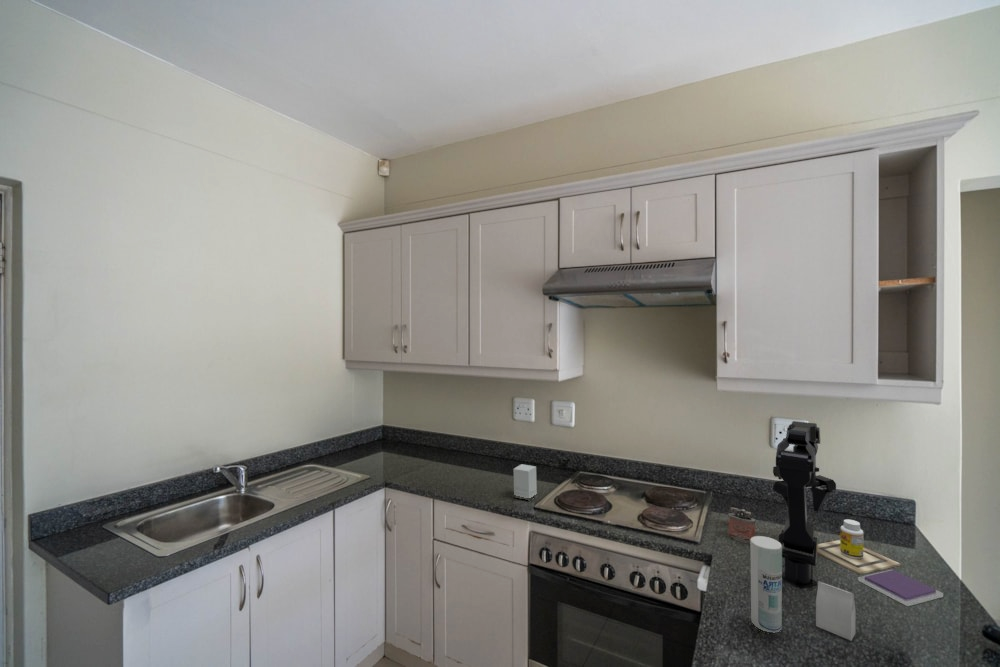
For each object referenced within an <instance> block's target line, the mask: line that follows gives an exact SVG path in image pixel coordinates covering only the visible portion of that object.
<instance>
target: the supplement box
mask: <svg viewBox="0 0 1000 667" xmlns="http://www.w3.org/2000/svg"><path fill="white" fill-rule="evenodd" d="M512 470H513V496H514V495H516V496H520V497H524V498H531V497H533V496H534V495H536V494H538V492H537V490H538V488H537V466H534V465H530V464H529V465H528V464H522V463H521V464H518V466H516V467H514V468H513V469H512Z"/></svg>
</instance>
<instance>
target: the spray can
mask: <svg viewBox="0 0 1000 667" xmlns="http://www.w3.org/2000/svg"><path fill="white" fill-rule="evenodd" d="M778 541H779V540H777V539H774V538H773V537H772V538H771V537H768V536H764V535H755V536H754V537H752V538H751V540H750V543H749V544H750V545H749V546H750V549H749V550H750V551H749V553H750V620H751V624H752V623H753V624H754V625H755V626H756V627H758V628H759V629H761V630H763V631H767V632H773V633H775V632H779V631H780V630H781V631H782V627H783V626H782V623H783V622H782V620H783V619H782V618H783V617H782V614H783V613H782V610H783V605H782V604H783V603H782V602H783V601H782V600H783V593H782V591H783V590H782V589H783V578H782V573H783V557H782V545H781V543H780V542H778ZM753 624H752V625H753ZM756 627H755V628H756ZM781 631H780V632H781Z"/></svg>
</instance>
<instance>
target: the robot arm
mask: <svg viewBox="0 0 1000 667" xmlns="http://www.w3.org/2000/svg"><path fill="white" fill-rule="evenodd" d="M819 444H821V430H820V427H818V425H817V423H815V422H804V421H795V420H793V421H792V422H791V424H789V425H788V427H787V428H786V435H785V438H784V439H782V440H781V441H780V442H779V443H778V444H777V446H776V455H775V466H773V467H772V474H773V477H775V478H778V481H774V482H773V484H772V491H774V492H776V493H777V494H778V495H780V496H782V497H783V499H784V501H785V503H786V506H787V508H788V509H787V510H788V517H787V518H786V520H785V522H784V526H783V529H782V530H781V532H780V533H779V534H778V540H777V541H778V542H780V543H781V545H782V559H784V573H783V572H782V579H784V580H785V581H787V582H789V583H790V584H792V585H794V587H797V588H798V589H803V588H808V587H812V586H818V581H816V580H815V579H813V577H814V567H817V561H818V553H817V544H818V537H816V536H815V527H814V524H813V522H810V521H808V516H807V515H808V513H807V512H808V511H807V490H806V489H809V490H810V491H811V494H812V506H813V511H814V512H819V511H820V509H822V506H823V505H824V503H825V502H826V500H827V499H828V497H829V496H830V495H831V494H833V492H834V491H836V490H837V483H836V481H834V479H833V478H829V477H826V476H823V475H821V474H820V475H816V474H817V472H820V468H819V467H816V466H817V465H816V463H817V462H816V461H817V460H816V459H817V453H818V450H819ZM790 445H792V447H793V448H792V451H791V450H787V449H788V448H789V447H790ZM785 548H786V549H785Z"/></svg>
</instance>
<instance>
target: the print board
mask: <svg viewBox="0 0 1000 667" xmlns="http://www.w3.org/2000/svg"><path fill="white" fill-rule="evenodd" d="M818 554H819V555H820V556H822V557H824V558H826V559H828V560H830V561H832V562H834V563H836V564H838V565H840V566H841V567H844V568H846V569H848V570H850V571H852V572H854V573H855V574H858V575H860V576H861V575H866V574H871V573H874V572H878V571H883V570H887V569H893V568H896V567H900V566H901V563H900V562H898V561H896V560H893V559H891V558H889V557H886V556H884V555H882V554H880V553H877V552H876V551H873V550H872V549H869V548H866V547H864V548H863V558H861V559H853V558H850V557H847V556H845V555H843V554H842V553H841V551H840V539H837V540H833V541H827V542H823V543H817V555H818Z"/></svg>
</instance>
